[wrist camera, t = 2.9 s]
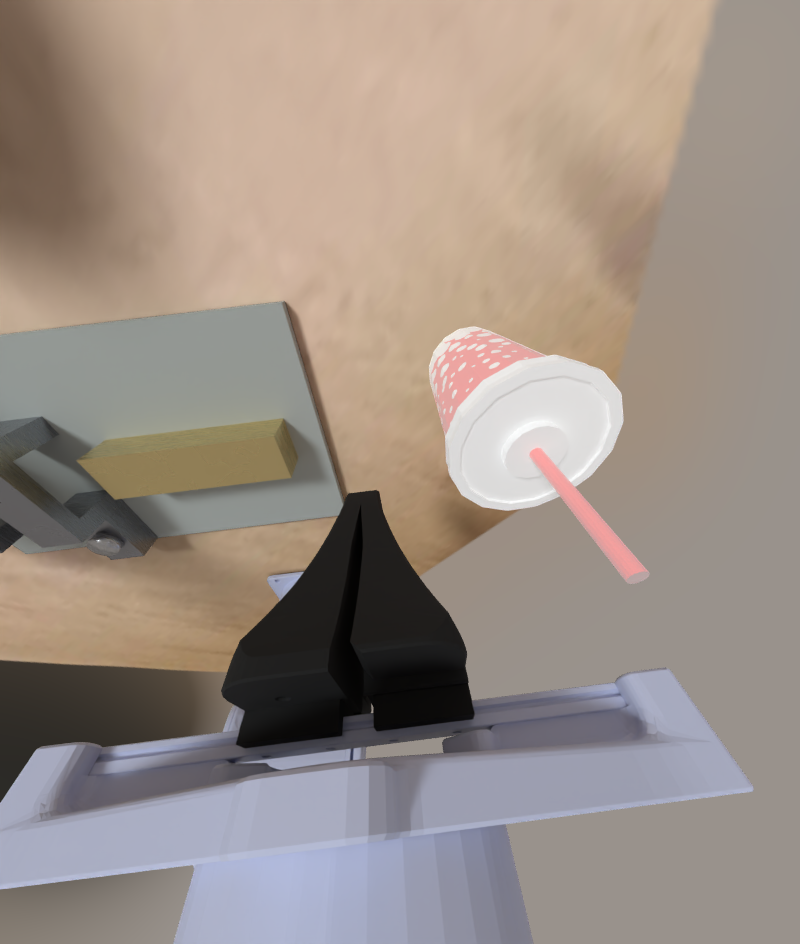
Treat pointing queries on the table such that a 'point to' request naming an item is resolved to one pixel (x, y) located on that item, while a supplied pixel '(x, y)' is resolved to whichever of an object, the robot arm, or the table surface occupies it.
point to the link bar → (192, 459)
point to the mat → (170, 408)
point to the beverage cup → (527, 429)
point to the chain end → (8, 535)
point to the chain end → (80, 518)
